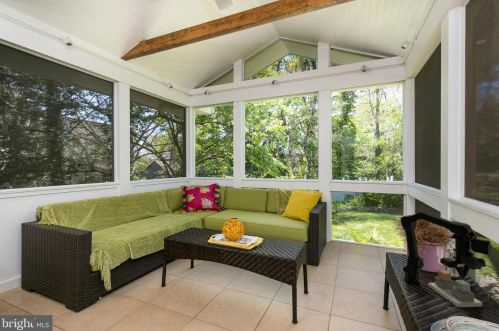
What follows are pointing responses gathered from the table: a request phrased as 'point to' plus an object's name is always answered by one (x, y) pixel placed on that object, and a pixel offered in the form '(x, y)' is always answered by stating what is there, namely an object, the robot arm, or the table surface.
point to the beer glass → (450, 255)
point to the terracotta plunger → (444, 275)
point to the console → (454, 294)
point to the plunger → (462, 286)
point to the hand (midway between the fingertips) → (462, 278)
